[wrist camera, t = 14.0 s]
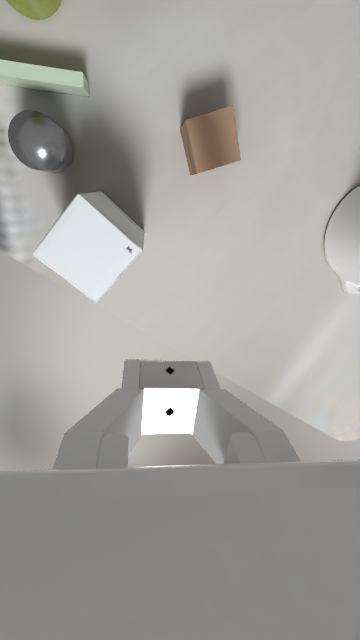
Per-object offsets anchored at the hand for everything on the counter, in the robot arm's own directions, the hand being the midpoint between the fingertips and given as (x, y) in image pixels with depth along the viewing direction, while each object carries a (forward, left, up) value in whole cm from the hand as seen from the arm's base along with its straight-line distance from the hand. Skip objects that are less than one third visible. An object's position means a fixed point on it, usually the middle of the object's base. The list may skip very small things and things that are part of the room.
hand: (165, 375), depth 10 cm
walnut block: (-6, -11, -31) cm, 33 cm away
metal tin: (+12, -9, -31) cm, 34 cm away
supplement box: (+6, 0, -31) cm, 31 cm away
